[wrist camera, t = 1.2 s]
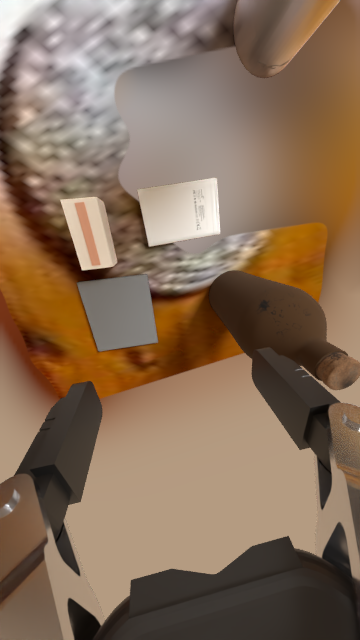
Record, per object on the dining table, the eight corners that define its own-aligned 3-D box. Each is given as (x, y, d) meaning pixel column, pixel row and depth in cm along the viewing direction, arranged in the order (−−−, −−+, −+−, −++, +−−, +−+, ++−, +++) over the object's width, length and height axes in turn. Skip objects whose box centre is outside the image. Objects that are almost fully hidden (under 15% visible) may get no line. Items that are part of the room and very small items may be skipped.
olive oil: (198, 311, 39) (265, 416, 17) (216, 260, 36) (334, 304, 13) (243, 322, 42) (353, 424, 20) (264, 275, 38) (431, 334, 16)
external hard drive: (137, 191, 30) (213, 179, 31) (148, 246, 34) (217, 234, 34) (136, 189, 29) (217, 176, 30) (148, 247, 32) (220, 234, 33)
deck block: (73, 205, 29) (59, 199, 25) (104, 202, 30) (95, 196, 25) (91, 265, 33) (81, 270, 28) (117, 262, 33) (112, 266, 29)
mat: (78, 282, 34) (76, 283, 33) (147, 273, 35) (147, 274, 34) (99, 349, 39) (98, 351, 39) (157, 340, 41) (157, 342, 40)
